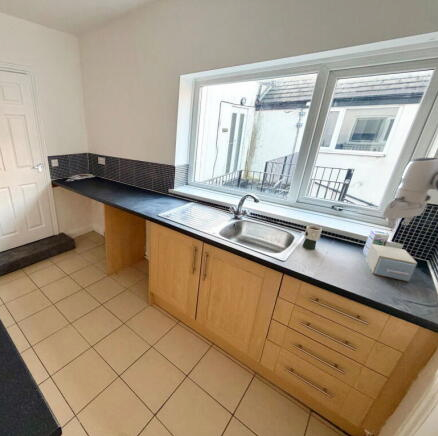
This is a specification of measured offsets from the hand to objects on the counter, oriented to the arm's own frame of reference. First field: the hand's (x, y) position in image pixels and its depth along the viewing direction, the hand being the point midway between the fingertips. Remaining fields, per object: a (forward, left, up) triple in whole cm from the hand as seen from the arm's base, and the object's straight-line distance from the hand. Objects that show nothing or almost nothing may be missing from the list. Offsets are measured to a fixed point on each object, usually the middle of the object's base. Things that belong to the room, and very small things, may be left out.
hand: (397, 226), depth 109 cm
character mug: (+29, -10, -24) cm, 39 cm away
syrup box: (0, -16, -24) cm, 29 cm away
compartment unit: (-3, -2, -23) cm, 24 cm away
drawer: (-3, +2, -22) cm, 23 cm away
